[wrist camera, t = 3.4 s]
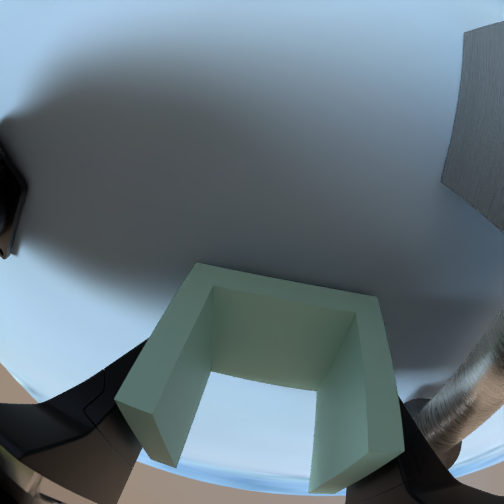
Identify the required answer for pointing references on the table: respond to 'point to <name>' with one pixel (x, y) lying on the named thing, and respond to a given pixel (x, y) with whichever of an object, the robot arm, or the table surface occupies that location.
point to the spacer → (271, 367)
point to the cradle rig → (480, 125)
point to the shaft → (464, 397)
